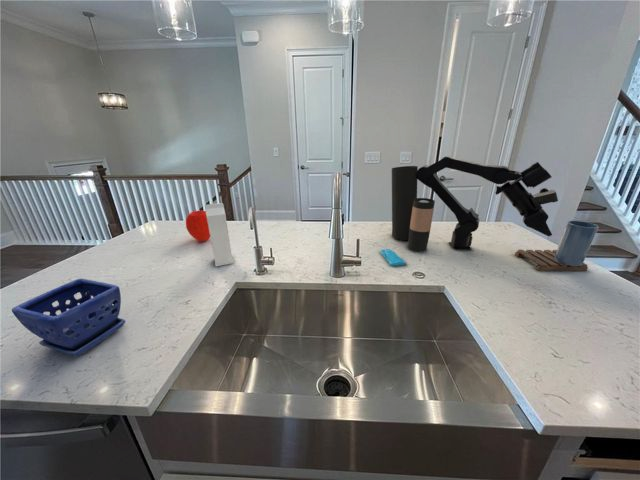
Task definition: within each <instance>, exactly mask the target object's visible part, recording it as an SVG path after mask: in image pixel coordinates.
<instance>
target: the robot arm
mask: <svg viewBox="0 0 640 480" xmlns="http://www.w3.org/2000/svg"><path fill="white" fill-rule="evenodd" d="M445 169H451V170H455V171H459V172H463V173H466V174H471V175H476V176H478V177H480V178H483V179H485V180H486V181H488V182H491V183H493V184H495V185H496V188H495V189H496V190H495V192H494V193H495V195H496V196H497V195H499V194H501V193H502V194H503V195H504V196H505V197H506V199H507V200H508V201H509V202H510V203H511V205H512V206H513V208H515V209H516V211H517V212H518V213H519V215H520V216H521V217H522V223H523V224H524V225H525V226H526V227H527V228H531V230H534V231H536V232H539V233H540V234H542V235H545V236H547V237H551V236H553V234H552V232H551V228H549V226H548V224H547V221H548V219H549V215H548V213H547V212H546V211H545V210H544V208H543V206H542V205H546V204H551V203H557V202H558V201H559V198H558V195H557V191H556V190H555V189H550V190H549V189H548V188H546V187H543V188H540V189H539V192H537V193H535V194H532V193H531V192H529V191H528V190H527V189H528V188H532V189H534V188H536V187H538V186H539V185H541V184H543V183H544V182H546V181H548V180H549V179H552V178H553V176H552V175H551V174H550V173H549V172H548V170H547V169H546V168H545V167H543V166H542V164H540V162H538V161H535V162H534V163H532V164H531V165H530V166H528V167H527V168H525V169H523V170H522V171H518V170H511V169H510V168H509V167H508V166H506V165H497V164H482V163H477V162H473V161H469V160H465V159H460V158H456V157H453V156H450V155H446V156H444V157H442V158H441V159H439V160H438V161H436V162H434V163H432V164H426V165H423V166H421V167H419V168H418V171H417V173H416V177H417V181H419V182H420V183H421V184H422V185H424V186H426V187H427V188H430V189H431V190H432V192H434V193H435V195H437V197H438V198H439V199H440V200H441V201H442V202H443V203H444V204H445V205H446V207H447V208H448V209H449V210H450V211H451V212H452V213H453V215H454V216H455V218H456V220H457V223H456V224H455V227H454V230H452V235H451V240H450V241H449V242H448V244H449V245H450V246H451V247H452V248H453V249H454V250H472V247H471V246H472V241H473V233H474V232H476V231H477V230H478V228H479V225H480V218H479V216H480V214H478V213H477V212H476V211H475V209H473V207H470V208H469V209H468V208H466V207H465V206H464V205H463V204H462V203H461V202H460V201H459V200H458V199H457V198H456V197H455V195H454V194H453V193H452V192H451V191H450V190H449V189H448V187H446V185H444V184H443V182H442V181H441V180H440V177H439V175H438V174H437V173H439V172H441V171H442V170H445ZM521 182H522V183H523V184H522V183H521ZM525 187H526V188H527V189H526V188H525Z"/></svg>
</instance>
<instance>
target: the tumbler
mask: <svg viewBox="0 0 640 480" xmlns="http://www.w3.org/2000/svg"><path fill="white" fill-rule="evenodd" d="M599 228H600V226H599V225H597V224H595V223H593V222H588V221H582V220H568V221H567V222H566V226H565V228H564V231H563V234H562V236H561V239H560V241H559V244H558V247H557V249H556V250H557V252H556V254H555V258H554V259H555V260H556V261H558V262H560V263H563V264H566V265H571V266H581V265H582V264H583V263H584V262H585V261H586V258H587V255H588V253H589V250H591V249H590V248H591V246H592V243H593V241H594V240H595V238H596V237H595V236H596V234H597V233H598V230H599Z"/></svg>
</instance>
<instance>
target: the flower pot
mask: <svg viewBox="0 0 640 480" xmlns="http://www.w3.org/2000/svg"><path fill="white" fill-rule="evenodd" d="M77 294H80V296H81V297H79V298H76V297H75V295H77ZM67 301H69V303H67ZM55 302H57V303H58V304H57V305H56V306H54V305H53V304H54V303H55ZM121 304H122V295H121V289H120V287H119V286H118V285H116V284H112V283H109V282H103V281H99V280H94V279H93V280H92V279H87V278H77V279H75V280H72V281H70V282H67V283H65V284H62V285H60V286H58V287H55V288H53V289H51V290H49V291H46V292H43V293H42V294H39V295H38V296H37V295H36V296H35V297H33V298H31V299H28V300H26V301H24V302H22V303H20V304H18V305H15V306H14V307H12V309H11V312H12V314H13V316H15V318H16V319H17V320H18V321H19V323H20V324H21V325H22V326H23V327H24V328H25V329H26V330H28V331H29V332H30V333H31V334H33V335H35V336H36V337H38V338H40V339H41V340H40V341H39V343H38V344H39V345H41V346H43V347H46V348H49V349H52V350H54V351H57V352H60V353H63V354H67V355H69V356H75V357H80V356H82V355H83V354H85V353H86V352H88V351H89V350H91V349H92V348H94V347H95V346H97V345H98V344H100V343H101V342H103V341H104V340H105V339H108V338H109V337H110V336H111V335H113V334H115V333H116V332H117V331H119V330H120V329H121V328H122V327H123V326H124V324H125V323H126V319H124V318H122V317H121V318H120V317H119V315H120V312H121ZM58 311H60V313H59V314H57V312H58ZM47 313H49V314H47Z"/></svg>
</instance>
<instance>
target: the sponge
mask: <svg viewBox="0 0 640 480" xmlns="http://www.w3.org/2000/svg"><path fill="white" fill-rule="evenodd" d="M380 254H381V255H382V256H383V258H384V259H385V260H386V261H387V263H388V265H389V266H392V267H393V266H394V267H395V266H405V265H406V262H405V260H403V259H402V258H401V256H399V255H398V254H397V253H396V252H395V251H394V250H391V249H390V248H385V249H381V250H380Z"/></svg>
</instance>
